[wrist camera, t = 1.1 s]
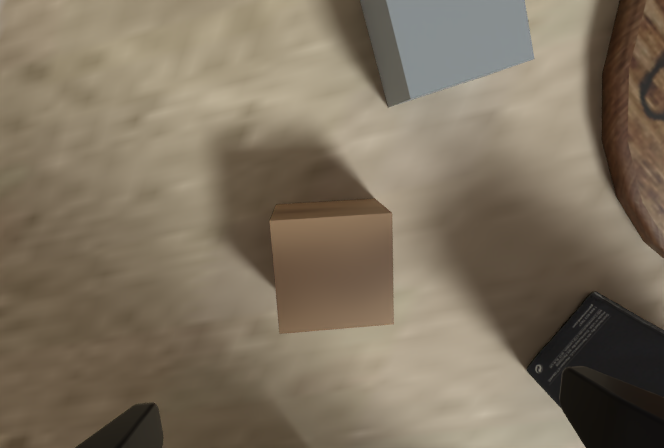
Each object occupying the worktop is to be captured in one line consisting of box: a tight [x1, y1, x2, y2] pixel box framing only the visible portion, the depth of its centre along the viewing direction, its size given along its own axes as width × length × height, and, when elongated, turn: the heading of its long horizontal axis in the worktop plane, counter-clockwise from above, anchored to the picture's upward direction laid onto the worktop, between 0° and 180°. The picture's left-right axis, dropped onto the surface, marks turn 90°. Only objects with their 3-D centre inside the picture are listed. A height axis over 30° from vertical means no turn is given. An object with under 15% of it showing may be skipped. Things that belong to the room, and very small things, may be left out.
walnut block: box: [269, 198, 394, 334], centre depth 18 cm, size 5×5×4 cm
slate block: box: [360, 0, 534, 107], centre depth 16 cm, size 5×5×4 cm
